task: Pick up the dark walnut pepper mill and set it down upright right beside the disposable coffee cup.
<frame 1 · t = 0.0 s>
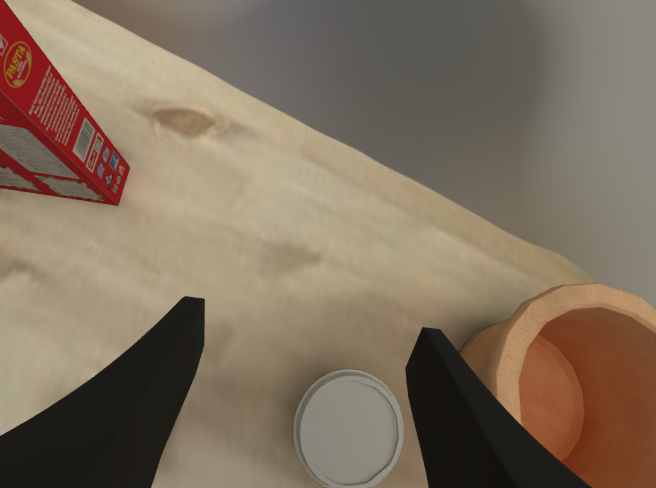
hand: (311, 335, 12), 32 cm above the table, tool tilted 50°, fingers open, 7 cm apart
disposable coffee cup: (331, 411, 42), on the table
food packaging: (62, 177, 46), on the table
pottery: (513, 394, 45), on the table
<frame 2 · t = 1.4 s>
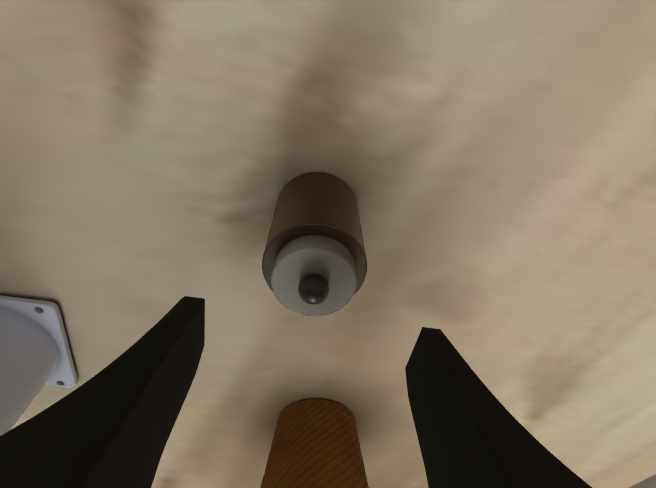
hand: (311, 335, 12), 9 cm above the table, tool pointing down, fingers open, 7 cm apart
disposable coffee cup: (316, 420, 31), on the table
pepper mill: (317, 210, 20), on the table
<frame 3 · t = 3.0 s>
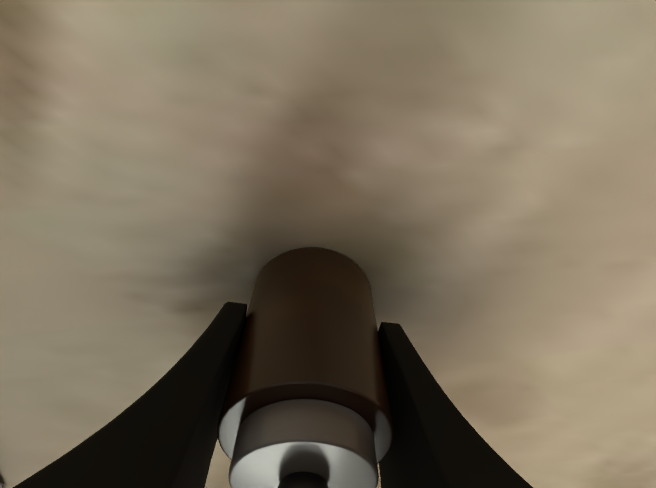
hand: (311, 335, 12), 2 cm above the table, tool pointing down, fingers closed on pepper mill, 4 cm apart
pepper mill: (312, 296, 14), on the table, touching gripper
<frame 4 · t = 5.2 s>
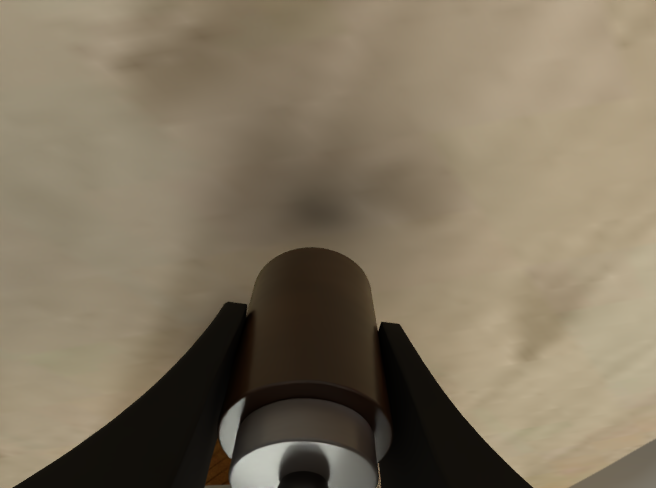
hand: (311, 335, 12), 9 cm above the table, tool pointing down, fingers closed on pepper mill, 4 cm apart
disposable coffee cup: (268, 361, 26), on the table
pepper mill: (312, 296, 14), point 7 cm above the table, touching gripper
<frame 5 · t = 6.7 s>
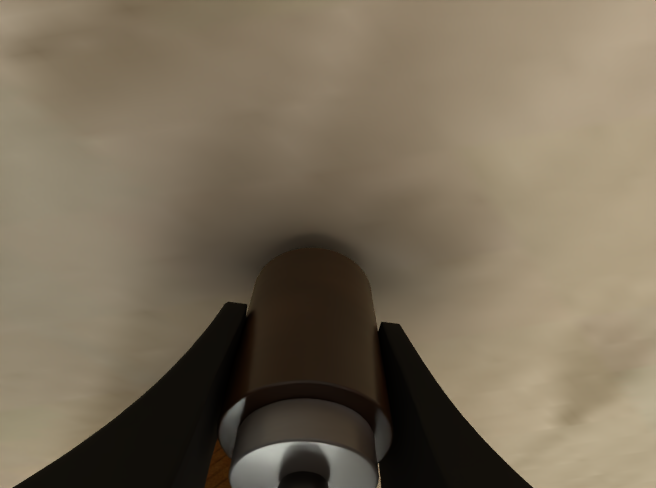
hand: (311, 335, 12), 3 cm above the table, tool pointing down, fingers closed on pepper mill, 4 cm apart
disposable coffee cup: (248, 425, 21), on the table
pepper mill: (312, 296, 14), point 1 cm above the table, touching gripper
when the fingers open (2 cm above the table, at t = 7.6 s): pepper mill stays where it is, on the table.
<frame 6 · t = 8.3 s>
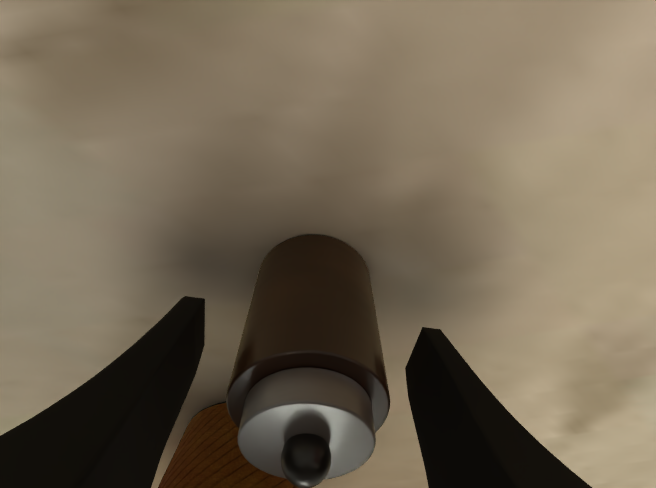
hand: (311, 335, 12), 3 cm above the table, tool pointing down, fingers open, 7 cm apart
disposable coffee cup: (247, 433, 20), on the table
pepper mill: (314, 282, 15), on the table
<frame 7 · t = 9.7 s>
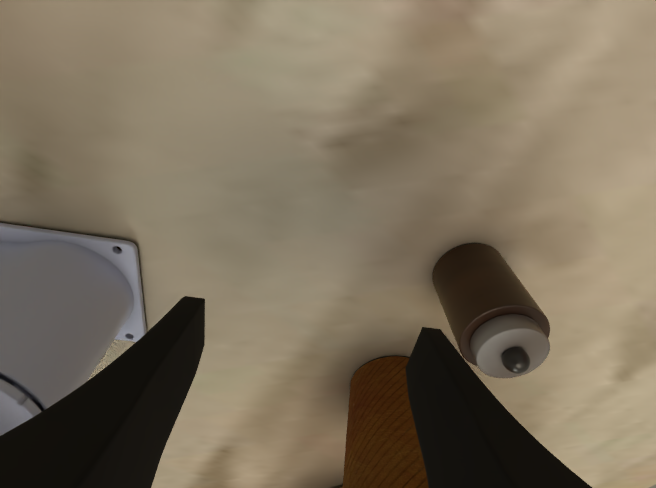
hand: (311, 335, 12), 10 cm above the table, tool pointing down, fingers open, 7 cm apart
disposable coffee cup: (390, 381, 29), on the table
pepper mill: (467, 272, 23), on the table
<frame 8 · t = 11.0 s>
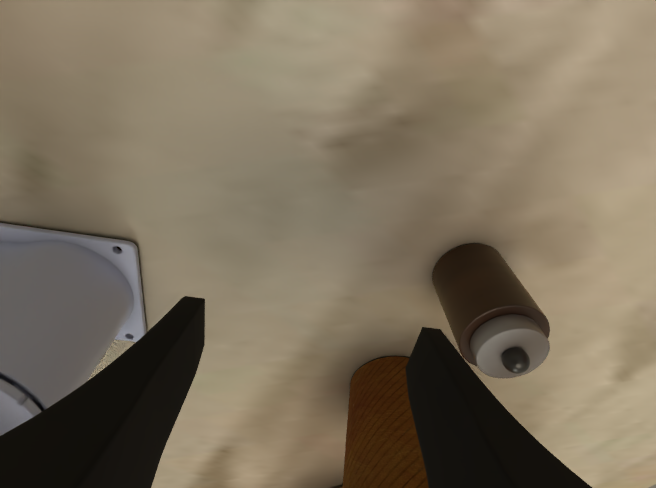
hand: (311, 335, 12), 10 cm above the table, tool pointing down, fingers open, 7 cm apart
disposable coffee cup: (390, 381, 29), on the table
pepper mill: (467, 273, 23), on the table
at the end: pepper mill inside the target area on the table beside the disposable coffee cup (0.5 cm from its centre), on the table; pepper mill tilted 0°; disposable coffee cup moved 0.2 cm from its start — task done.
